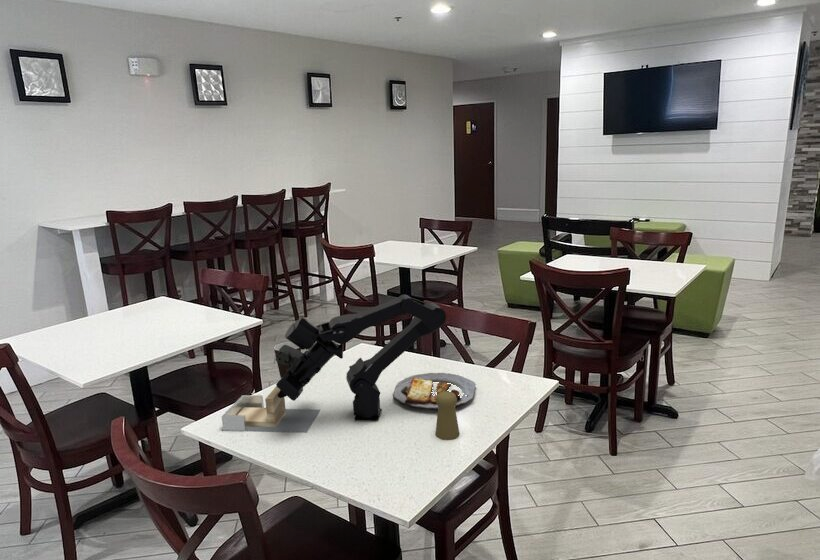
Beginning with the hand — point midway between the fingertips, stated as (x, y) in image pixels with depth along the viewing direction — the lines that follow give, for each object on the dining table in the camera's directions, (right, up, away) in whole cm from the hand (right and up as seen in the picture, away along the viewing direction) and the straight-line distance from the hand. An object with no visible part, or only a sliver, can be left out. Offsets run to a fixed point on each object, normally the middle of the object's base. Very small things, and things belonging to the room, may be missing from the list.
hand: (279, 396), depth 147 cm
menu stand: (-6, -7, +2) cm, 9 cm away
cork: (+44, -8, -9) cm, 46 cm away
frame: (-10, -7, +3) cm, 12 cm away
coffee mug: (-3, 0, +34) cm, 34 cm away
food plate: (+42, -3, +14) cm, 44 cm away
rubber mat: (-2, -7, +2) cm, 8 cm away
